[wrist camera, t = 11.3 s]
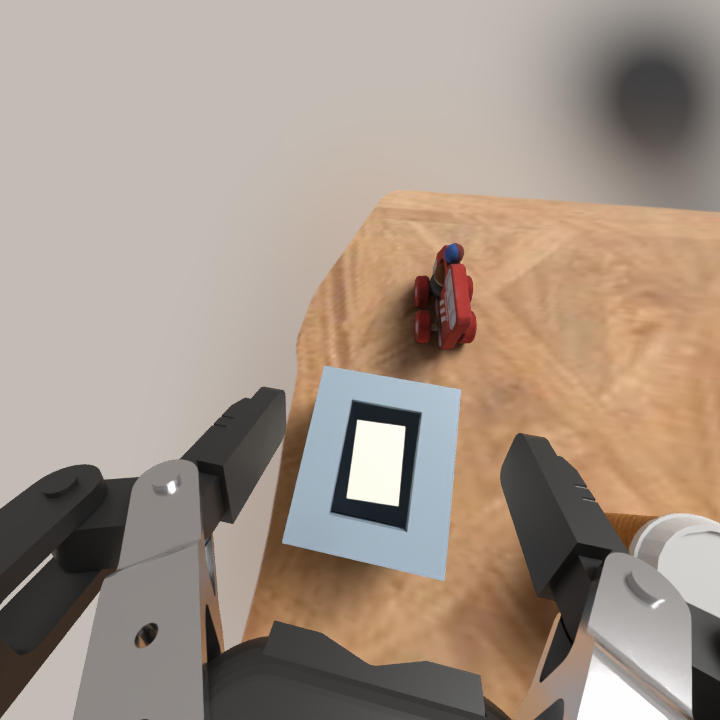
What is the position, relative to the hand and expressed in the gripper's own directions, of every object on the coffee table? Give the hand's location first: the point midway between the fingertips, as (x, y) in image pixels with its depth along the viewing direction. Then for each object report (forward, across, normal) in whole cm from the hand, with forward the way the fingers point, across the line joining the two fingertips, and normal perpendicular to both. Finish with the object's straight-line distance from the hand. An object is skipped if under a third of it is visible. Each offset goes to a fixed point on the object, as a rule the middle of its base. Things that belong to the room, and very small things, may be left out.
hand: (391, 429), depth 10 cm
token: (+16, 0, +18) cm, 24 cm away
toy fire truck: (+31, -5, +5) cm, 32 cm away
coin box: (+17, 0, +19) cm, 25 cm away
